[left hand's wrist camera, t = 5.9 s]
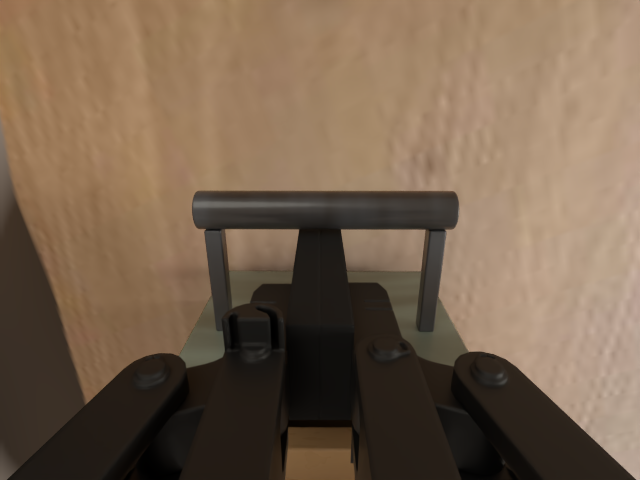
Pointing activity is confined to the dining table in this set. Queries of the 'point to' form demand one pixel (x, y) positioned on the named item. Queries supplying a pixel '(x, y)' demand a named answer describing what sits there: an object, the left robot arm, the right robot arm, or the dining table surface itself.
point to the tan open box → (319, 453)
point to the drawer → (402, 287)
